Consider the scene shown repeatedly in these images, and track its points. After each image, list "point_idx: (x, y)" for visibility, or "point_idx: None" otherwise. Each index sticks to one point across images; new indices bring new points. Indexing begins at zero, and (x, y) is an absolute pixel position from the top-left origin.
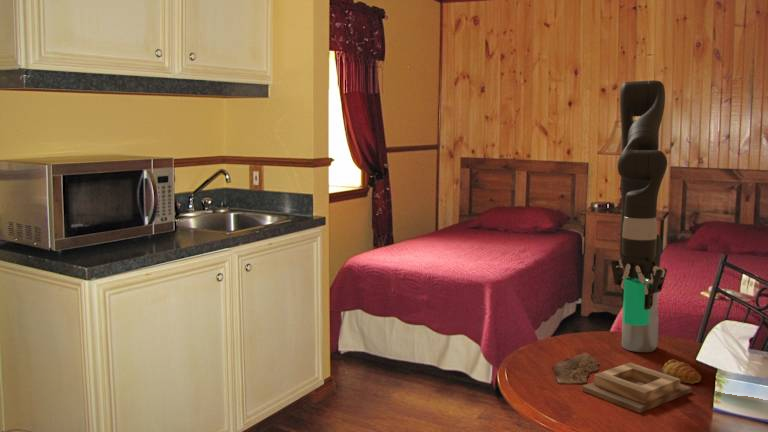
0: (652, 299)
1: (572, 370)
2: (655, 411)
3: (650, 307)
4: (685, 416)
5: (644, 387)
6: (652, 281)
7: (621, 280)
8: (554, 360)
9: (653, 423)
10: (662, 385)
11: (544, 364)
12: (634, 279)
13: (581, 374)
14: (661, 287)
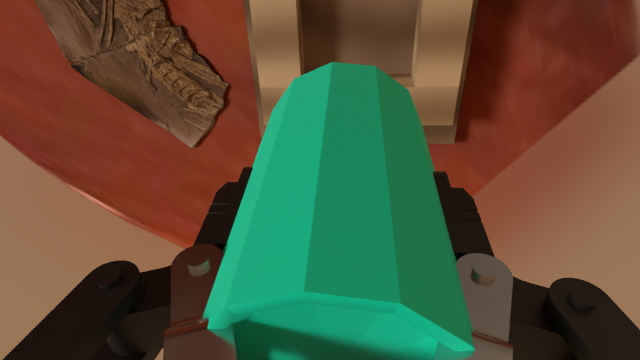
0: (483, 234)
1: (126, 43)
2: (476, 94)
3: (444, 175)
4: (558, 57)
5: (429, 90)
6: (506, 357)
7: (144, 338)
8: (11, 7)
9: (504, 157)
10: (466, 26)
11: (41, 65)
12: (263, 347)
13: (173, 55)
14: (631, 337)
